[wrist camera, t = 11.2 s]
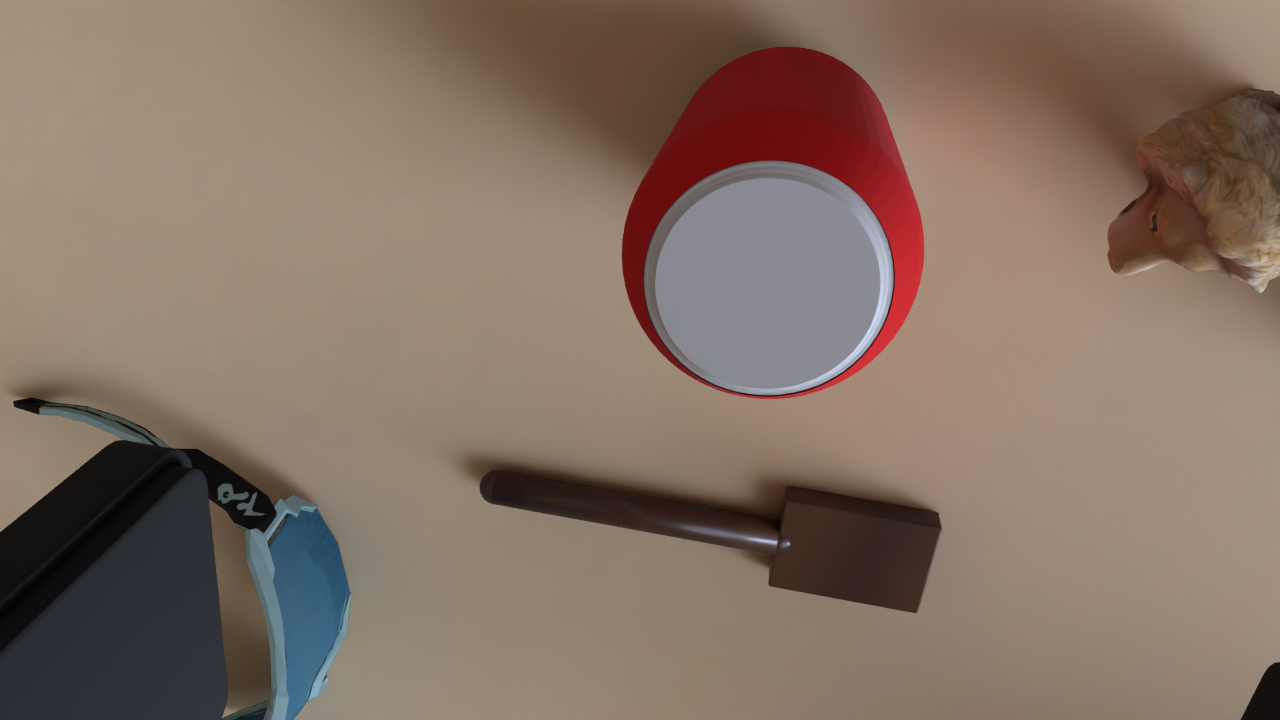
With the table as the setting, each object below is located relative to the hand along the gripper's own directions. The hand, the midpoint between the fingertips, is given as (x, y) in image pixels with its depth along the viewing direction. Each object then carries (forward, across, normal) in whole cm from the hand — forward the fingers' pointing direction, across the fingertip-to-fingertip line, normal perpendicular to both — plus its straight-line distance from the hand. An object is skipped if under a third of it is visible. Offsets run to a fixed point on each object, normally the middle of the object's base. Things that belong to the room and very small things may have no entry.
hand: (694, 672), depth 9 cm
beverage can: (+23, 0, +1) cm, 23 cm away
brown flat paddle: (+23, 0, +14) cm, 27 cm away
